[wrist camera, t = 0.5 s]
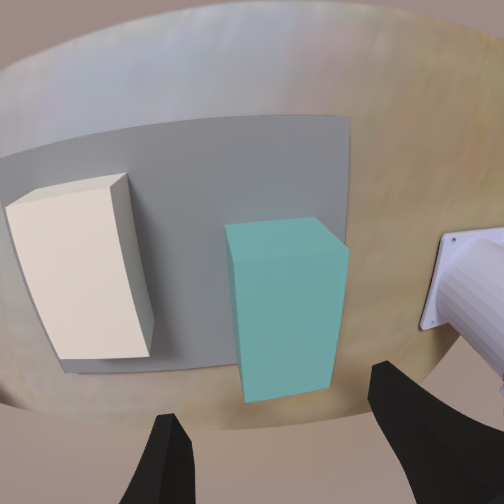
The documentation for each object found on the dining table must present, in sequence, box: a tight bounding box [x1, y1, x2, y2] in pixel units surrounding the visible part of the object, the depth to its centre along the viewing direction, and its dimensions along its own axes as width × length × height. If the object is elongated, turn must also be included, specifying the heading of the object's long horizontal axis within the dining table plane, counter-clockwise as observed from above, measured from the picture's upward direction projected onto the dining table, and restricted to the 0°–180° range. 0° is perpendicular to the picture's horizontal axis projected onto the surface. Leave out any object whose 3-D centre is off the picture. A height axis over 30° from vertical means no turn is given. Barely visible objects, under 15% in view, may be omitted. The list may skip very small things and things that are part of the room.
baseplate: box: [0, 115, 350, 373], centre depth 14 cm, size 18×14×4 cm
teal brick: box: [224, 217, 349, 403], centre depth 15 cm, size 4×8×4 cm, turn 3°
